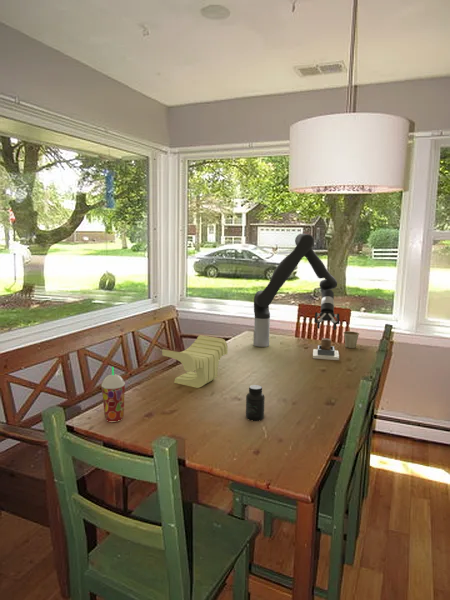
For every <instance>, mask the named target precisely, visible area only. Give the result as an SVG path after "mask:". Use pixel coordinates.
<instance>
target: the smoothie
mask: <svg viewBox="0 0 450 600" xmlns="http://www.w3.org/2000/svg"><path fill="white" fill-rule="evenodd" d="M114 370H115V368H114V366H111V374H108V375H107V376H106V377H105V378H104V379H103V381H102V383H101V384H100V386H101V392H102V402H103V412H104V418H105V420H108V421H118V420H121V419H122V420H123V418H124V415H125V393H126V382H125V380H124V379H123V377H122V376H121V375H119V374H116V373H115V371H114ZM122 420H121V421H122ZM108 421H107V422H108Z"/></svg>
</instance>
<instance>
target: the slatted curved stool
mask: <svg viewBox="0 0 450 600" xmlns="http://www.w3.org/2000/svg"><path fill="white" fill-rule="evenodd" d="M228 349H229V348H228V343H227V341H226V340H225V339H224V338H222V337H221V338H220V337H215V336H214V337H213V336H208V335H207V336H206V335H201V334H199V335H198V336H197V337H196V339H195V340H194V341H193V342H192V344H191V345H190V346H189V347H187V348H186V349H185V350H183V351H175V350H168V349H163V348H162V351H161V352H162V356H163V357H167V358H170V359H174V360H176V361H178V362H179V363H181V364H182V366H183V369H184V371H186V372H185V373H183V374H181V375H179V376H176V377H175V379H174V382H173V383H174V384H179V385H183V386H188V387H192V388H195V389H196V388H197V389H199V388H201V387H203V386H205V385H206V384H208V383H210V382H211V381H214V380H215V379H217V376H218V370H219V362H220V360H221V359H222V356H225V355H228V351H229V350H228Z"/></svg>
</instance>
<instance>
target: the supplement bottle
mask: <svg viewBox="0 0 450 600" xmlns="http://www.w3.org/2000/svg"><path fill="white" fill-rule="evenodd" d="M265 398H266V397H265V394H264V393H263V387H262V386H261V385H258V384H251V385H249V387H248V393H246V396H245V418H246V419H247V420H248V419H249V420H248V421H251V420H253V421H252V422H259V420H260V421H263V419H264V418H265V403H266V402H265Z"/></svg>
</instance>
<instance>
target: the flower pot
mask: <svg viewBox="0 0 450 600" xmlns="http://www.w3.org/2000/svg"><path fill="white" fill-rule="evenodd" d="M342 333H343V336H344V346H345V348H349V349H355V348H357V343H358V339H359V335H360V332H358V331H350V330H349V331H348V330H347V331H343V332H342Z"/></svg>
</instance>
